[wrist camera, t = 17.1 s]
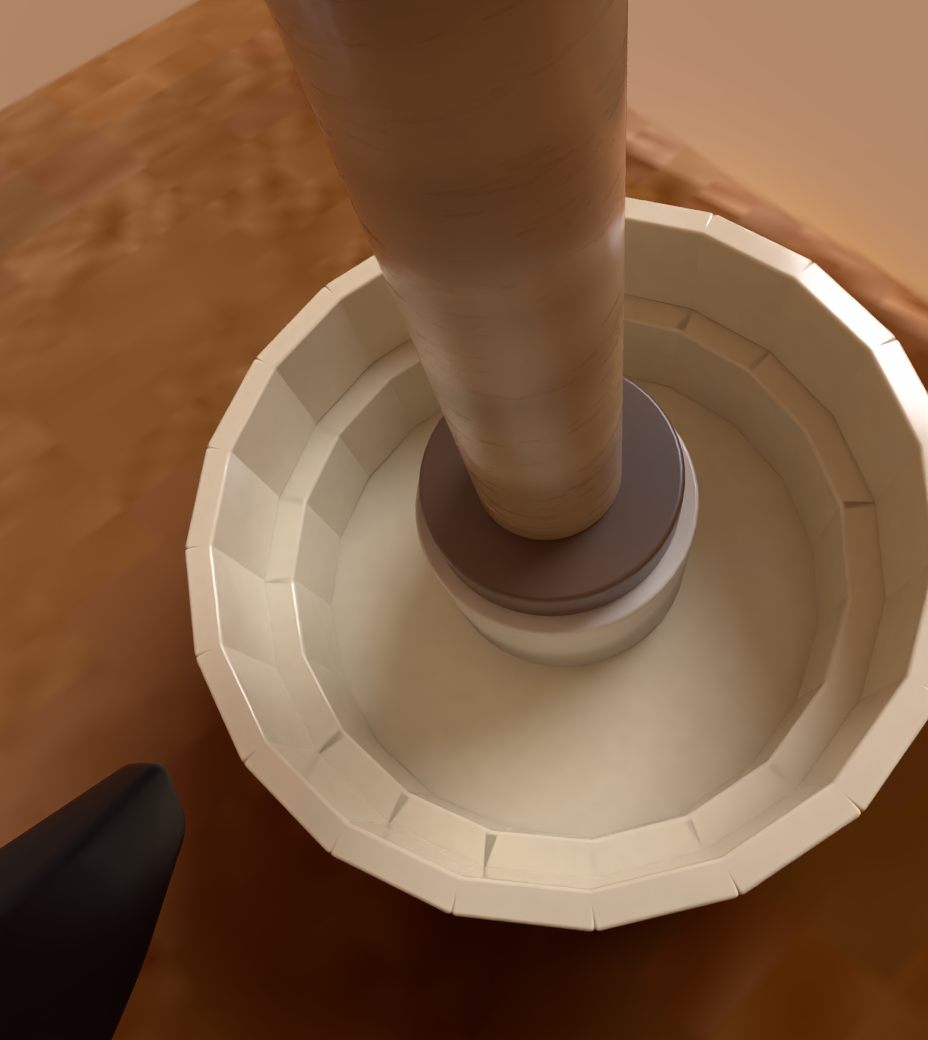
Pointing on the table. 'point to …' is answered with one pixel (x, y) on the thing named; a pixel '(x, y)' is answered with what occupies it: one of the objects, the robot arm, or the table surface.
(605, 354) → the brush
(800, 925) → the table surface
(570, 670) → the bowl
